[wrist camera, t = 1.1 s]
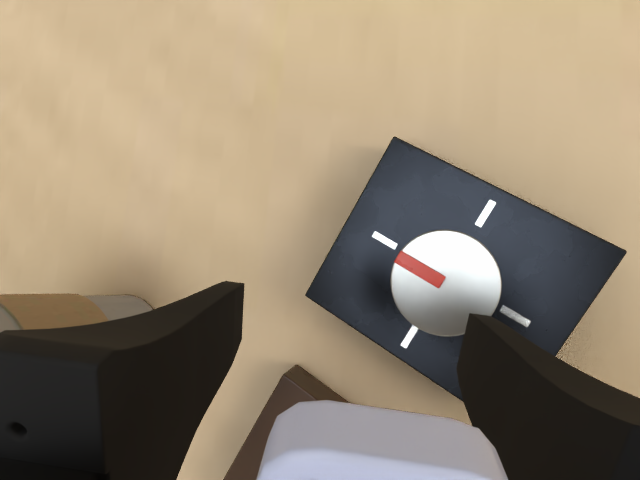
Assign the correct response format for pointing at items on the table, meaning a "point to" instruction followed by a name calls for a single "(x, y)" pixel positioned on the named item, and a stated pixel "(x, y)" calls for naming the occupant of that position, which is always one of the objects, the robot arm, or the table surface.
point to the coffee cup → (65, 310)
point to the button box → (286, 394)
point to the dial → (445, 281)
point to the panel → (477, 221)
